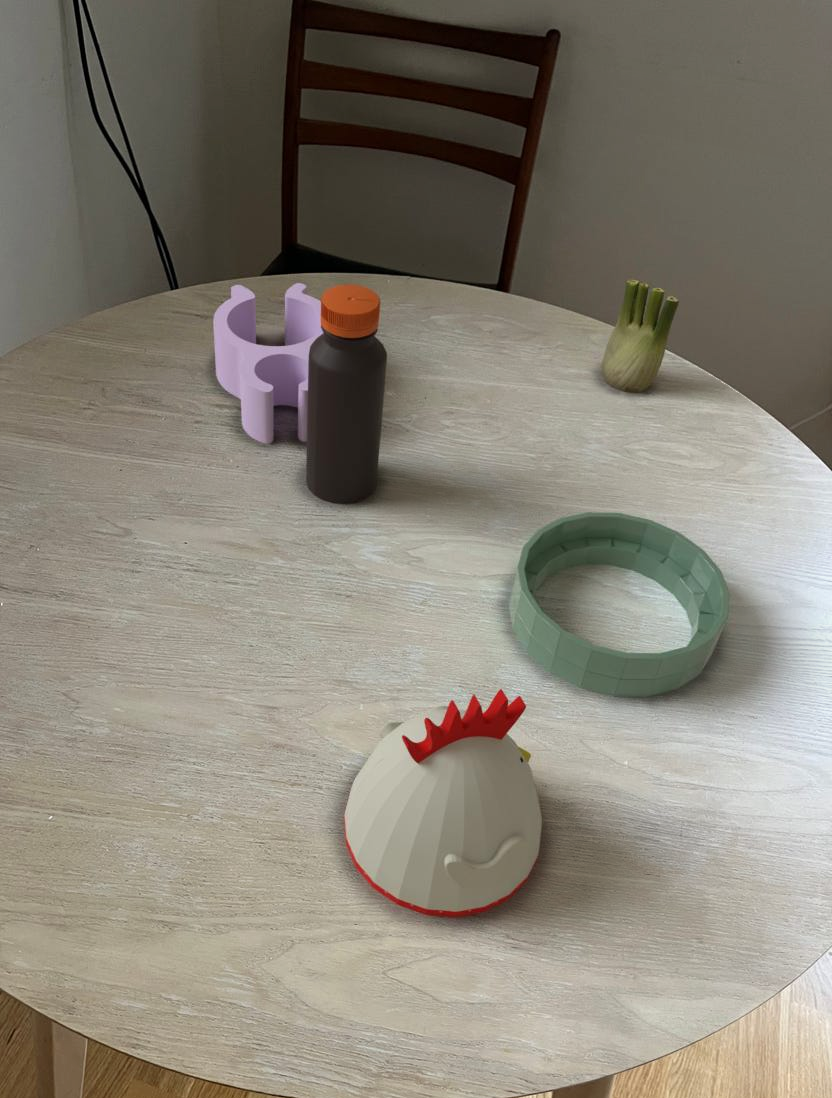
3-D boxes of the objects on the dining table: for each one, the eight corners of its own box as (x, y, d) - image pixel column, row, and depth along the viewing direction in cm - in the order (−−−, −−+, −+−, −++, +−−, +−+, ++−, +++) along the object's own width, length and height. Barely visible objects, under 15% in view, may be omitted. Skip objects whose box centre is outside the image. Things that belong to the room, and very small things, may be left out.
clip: (348, 447, 108) (351, 388, 103) (223, 453, 106) (220, 394, 101) (324, 339, 121) (325, 282, 116) (212, 343, 119) (209, 285, 114)
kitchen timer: (570, 889, 75) (620, 760, 64) (387, 949, 71) (406, 823, 60) (485, 738, 83) (516, 601, 72) (317, 784, 80) (323, 648, 69)
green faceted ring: (715, 583, 97) (734, 537, 93) (702, 726, 85) (723, 681, 81) (527, 540, 99) (537, 494, 95) (490, 673, 88) (500, 627, 84)
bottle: (359, 460, 106) (371, 272, 92) (387, 502, 102) (405, 312, 88) (295, 475, 104) (297, 285, 90) (321, 518, 100) (328, 327, 85)
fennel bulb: (656, 398, 116) (687, 296, 107) (618, 406, 115) (646, 304, 106) (627, 369, 120) (655, 269, 111) (589, 377, 118) (614, 276, 110)
